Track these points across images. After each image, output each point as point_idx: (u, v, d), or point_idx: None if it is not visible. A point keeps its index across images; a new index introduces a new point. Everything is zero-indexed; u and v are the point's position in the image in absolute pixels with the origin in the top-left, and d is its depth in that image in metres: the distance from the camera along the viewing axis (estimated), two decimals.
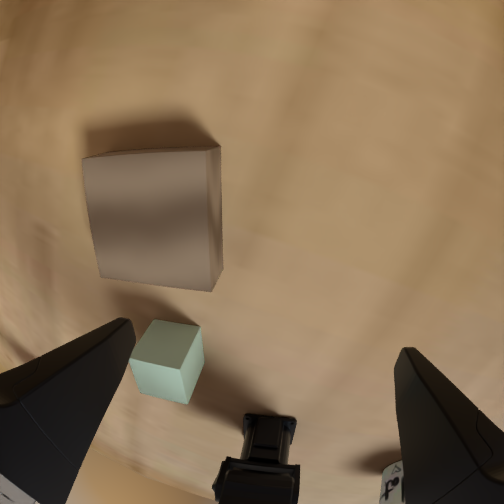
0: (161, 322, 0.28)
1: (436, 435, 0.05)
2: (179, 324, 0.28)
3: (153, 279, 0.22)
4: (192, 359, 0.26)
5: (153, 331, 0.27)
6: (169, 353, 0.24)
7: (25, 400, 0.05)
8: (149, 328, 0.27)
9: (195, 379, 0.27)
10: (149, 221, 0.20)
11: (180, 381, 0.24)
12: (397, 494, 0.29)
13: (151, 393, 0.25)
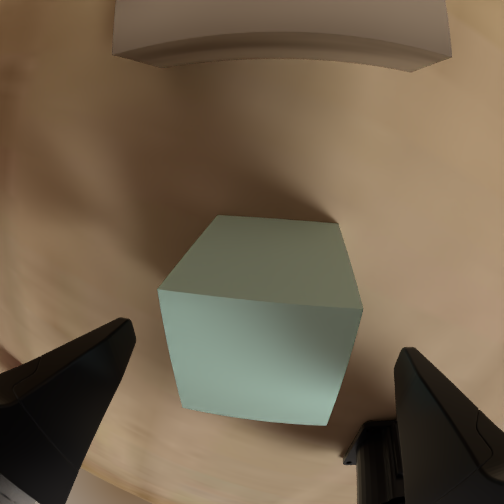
0: (239, 219, 0.12)
1: (436, 435, 0.05)
2: (286, 221, 0.12)
3: (289, 16, 0.06)
4: None
5: (224, 232, 0.11)
6: (298, 272, 0.08)
7: (25, 400, 0.05)
8: (212, 228, 0.11)
9: None
10: None
11: (343, 356, 0.07)
12: None
13: (219, 408, 0.09)
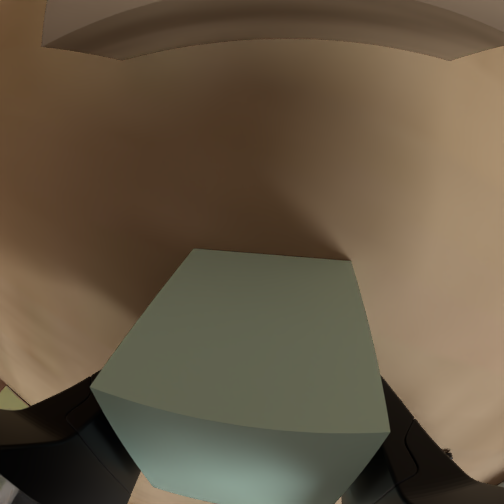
0: (220, 256, 0.09)
1: None
2: (282, 259, 0.09)
3: None
4: None
5: (197, 281, 0.08)
6: (297, 360, 0.05)
7: (82, 430, 0.05)
8: (181, 272, 0.08)
9: None
10: None
11: (352, 471, 0.04)
12: None
13: (195, 495, 0.06)
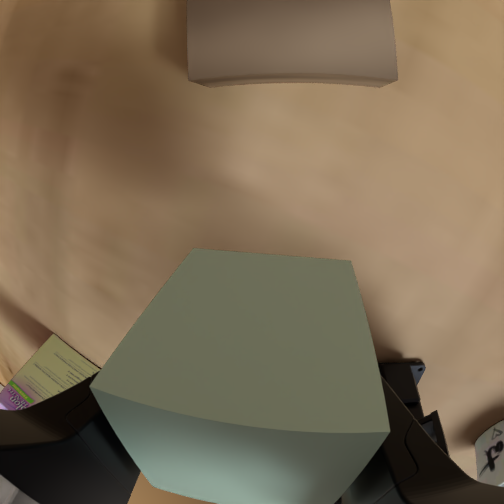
0: (220, 255, 0.09)
1: None
2: (282, 258, 0.09)
3: (299, 63, 0.12)
4: None
5: (197, 280, 0.08)
6: (296, 360, 0.05)
7: (82, 431, 0.05)
8: (181, 271, 0.08)
9: None
10: None
11: (352, 471, 0.04)
12: None
13: (194, 495, 0.06)
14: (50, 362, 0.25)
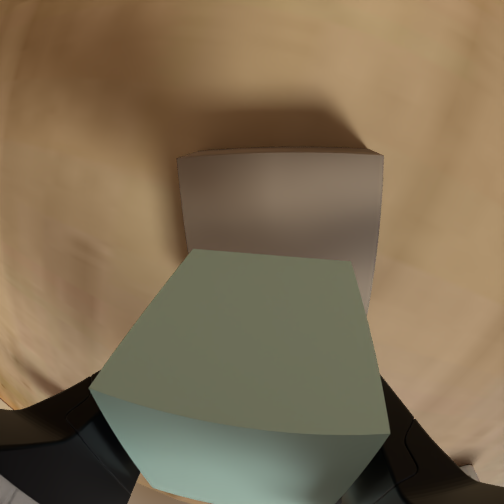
0: (219, 256, 0.09)
1: None
2: (282, 259, 0.09)
3: None
4: None
5: (197, 282, 0.08)
6: (296, 361, 0.05)
7: (82, 431, 0.05)
8: (181, 272, 0.08)
9: None
10: (293, 248, 0.15)
11: (352, 473, 0.04)
12: None
13: (194, 496, 0.06)
14: None
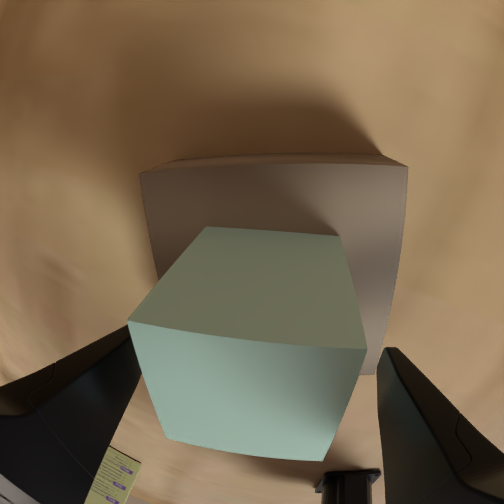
0: (229, 231, 0.11)
1: (414, 438, 0.05)
2: (282, 233, 0.11)
3: None
4: None
5: (211, 248, 0.10)
6: (293, 299, 0.07)
7: (41, 410, 0.05)
8: (197, 242, 0.10)
9: None
10: None
11: (342, 397, 0.06)
12: None
13: (204, 441, 0.08)
14: None
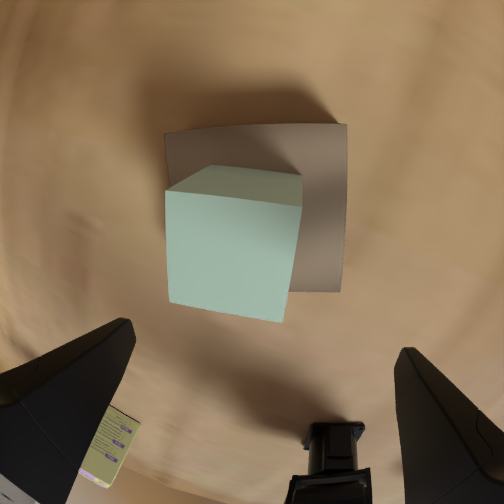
0: (226, 167, 0.16)
1: (436, 435, 0.05)
2: (262, 170, 0.16)
3: None
4: None
5: (214, 172, 0.14)
6: (263, 190, 0.12)
7: (25, 400, 0.05)
8: (205, 169, 0.15)
9: None
10: None
11: (290, 247, 0.11)
12: None
13: (198, 300, 0.13)
14: None
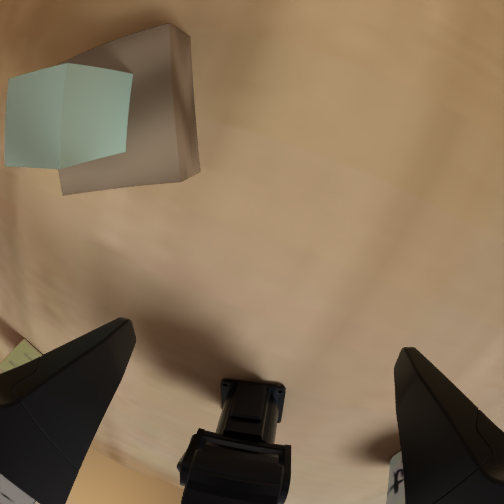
0: None
1: (436, 435, 0.05)
2: None
3: (115, 181, 0.18)
4: (99, 96, 0.12)
5: None
6: None
7: (25, 400, 0.05)
8: None
9: (96, 149, 0.14)
10: None
11: (60, 96, 0.10)
12: None
13: (17, 159, 0.11)
14: (20, 360, 0.31)
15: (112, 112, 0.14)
